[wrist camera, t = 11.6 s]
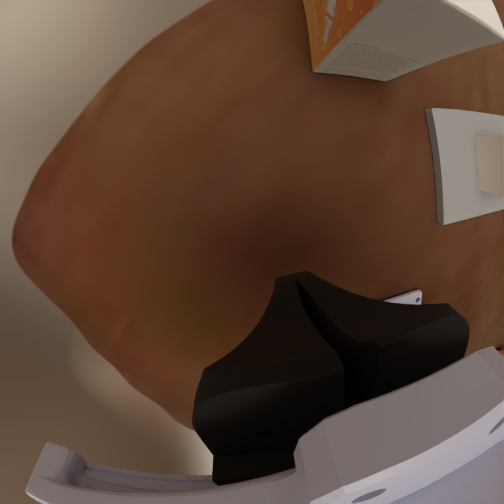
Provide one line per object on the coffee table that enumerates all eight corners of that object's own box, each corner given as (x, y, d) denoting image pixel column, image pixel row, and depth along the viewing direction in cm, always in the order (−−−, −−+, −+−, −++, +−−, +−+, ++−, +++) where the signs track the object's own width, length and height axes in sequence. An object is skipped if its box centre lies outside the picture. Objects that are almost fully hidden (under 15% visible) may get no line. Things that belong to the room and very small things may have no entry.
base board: (518, 201, 19) (524, 203, 18) (437, 222, 20) (443, 224, 19) (512, 118, 16) (518, 119, 15) (424, 109, 17) (431, 107, 16)
